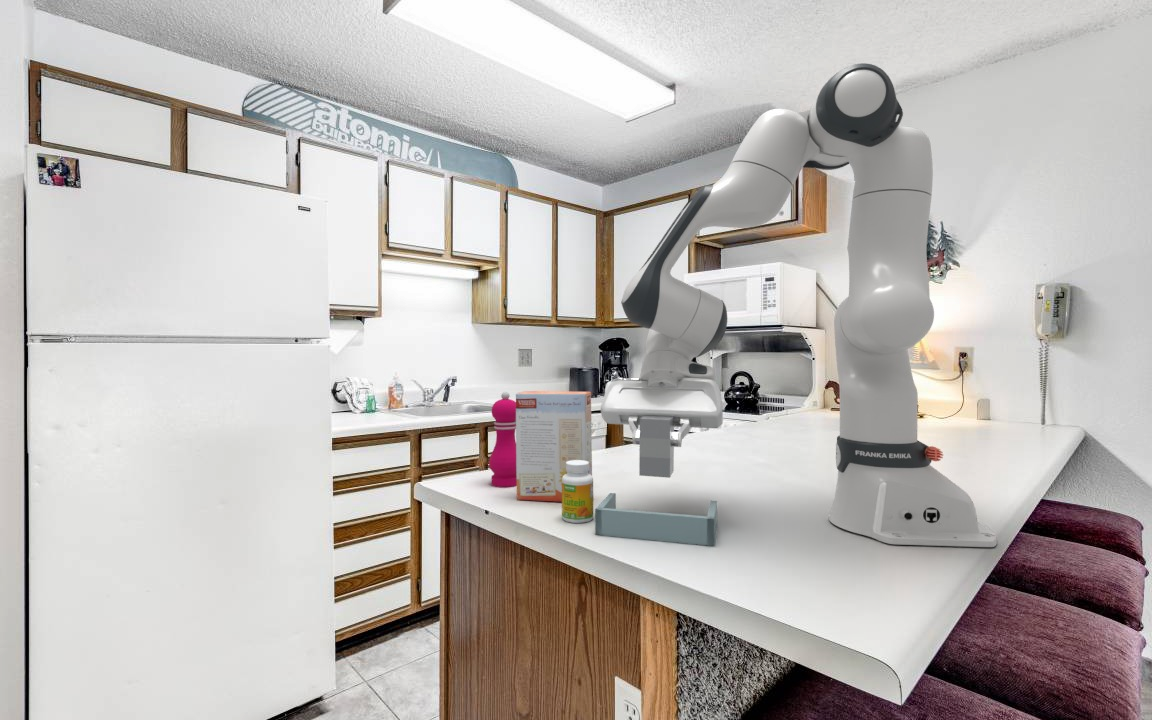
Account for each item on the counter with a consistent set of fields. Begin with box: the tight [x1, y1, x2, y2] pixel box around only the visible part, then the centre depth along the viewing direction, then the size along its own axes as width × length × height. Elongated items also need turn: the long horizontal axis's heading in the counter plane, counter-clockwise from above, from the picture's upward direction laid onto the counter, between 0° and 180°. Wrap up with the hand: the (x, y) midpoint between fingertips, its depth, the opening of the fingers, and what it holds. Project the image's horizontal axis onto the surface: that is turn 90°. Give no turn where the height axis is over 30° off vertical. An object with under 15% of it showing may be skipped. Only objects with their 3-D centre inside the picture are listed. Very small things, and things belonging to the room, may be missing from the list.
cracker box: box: [515, 390, 593, 503], centre depth 105 cm, size 14×6×21 cm, turn 77°
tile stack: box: [638, 416, 675, 479], centre depth 87 cm, size 5×5×9 cm
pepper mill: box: [488, 391, 517, 488], centre depth 117 cm, size 7×7×20 cm
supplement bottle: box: [561, 460, 594, 524], centre depth 92 cm, size 5×5×10 cm
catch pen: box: [594, 492, 718, 547], centre depth 86 cm, size 18×10×4 cm, turn 73°
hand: (656, 443), depth 86 cm, fingers closed on tile stack, 5 cm apart
